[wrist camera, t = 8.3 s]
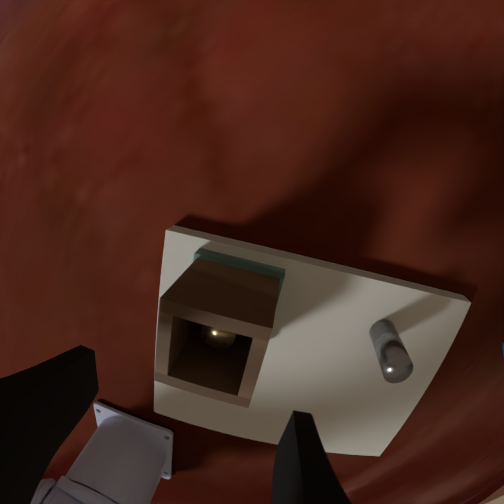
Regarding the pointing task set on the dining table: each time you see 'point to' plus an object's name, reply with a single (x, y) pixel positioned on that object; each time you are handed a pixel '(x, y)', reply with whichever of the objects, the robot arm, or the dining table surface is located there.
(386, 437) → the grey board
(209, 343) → the brass pin
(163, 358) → the walnut sleeve
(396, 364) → the steel pin
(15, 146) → the dining table surface
